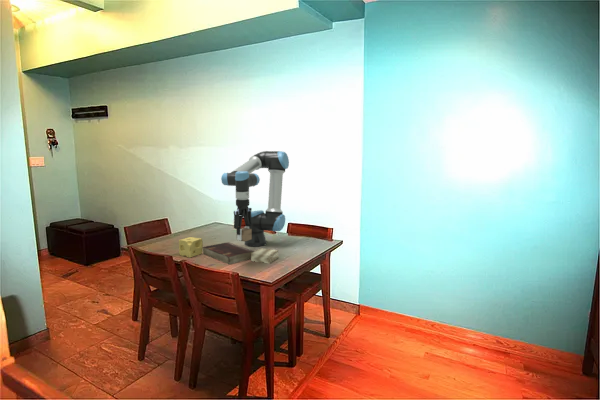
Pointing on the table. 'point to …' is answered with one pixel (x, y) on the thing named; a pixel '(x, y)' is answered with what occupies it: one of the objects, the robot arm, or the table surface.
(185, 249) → the cheese
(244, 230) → the walnut cube
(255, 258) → the birch block
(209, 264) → the table surface
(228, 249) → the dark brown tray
